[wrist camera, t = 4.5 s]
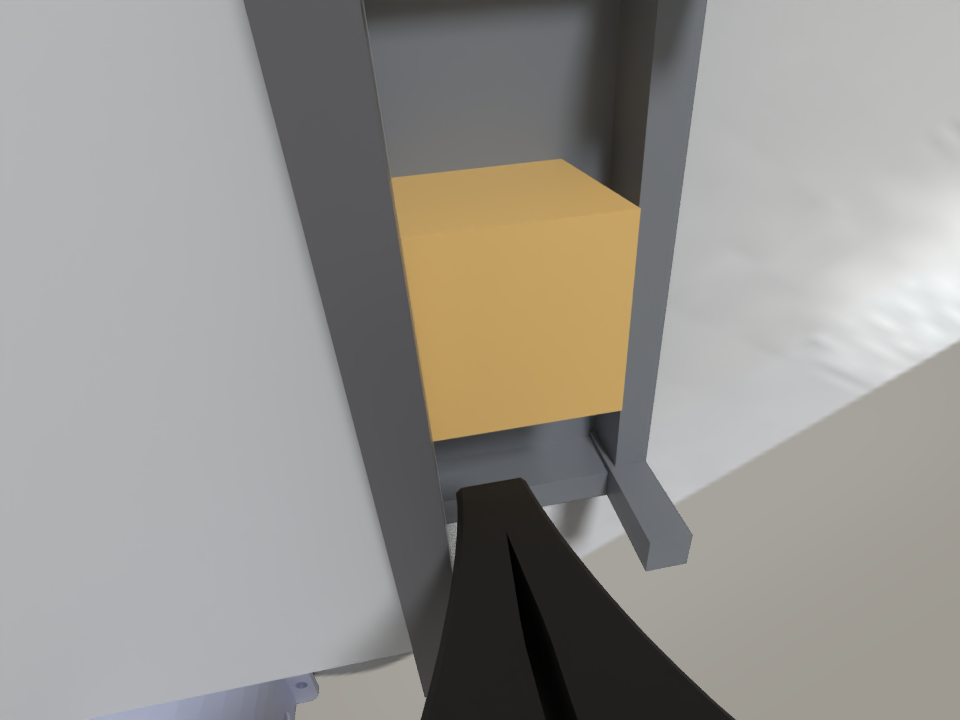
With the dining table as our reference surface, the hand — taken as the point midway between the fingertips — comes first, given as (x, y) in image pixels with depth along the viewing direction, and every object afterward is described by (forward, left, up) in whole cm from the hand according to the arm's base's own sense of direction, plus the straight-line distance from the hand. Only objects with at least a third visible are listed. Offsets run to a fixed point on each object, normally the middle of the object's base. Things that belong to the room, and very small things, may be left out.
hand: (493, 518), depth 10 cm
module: (+3, -1, -6) cm, 7 cm away
